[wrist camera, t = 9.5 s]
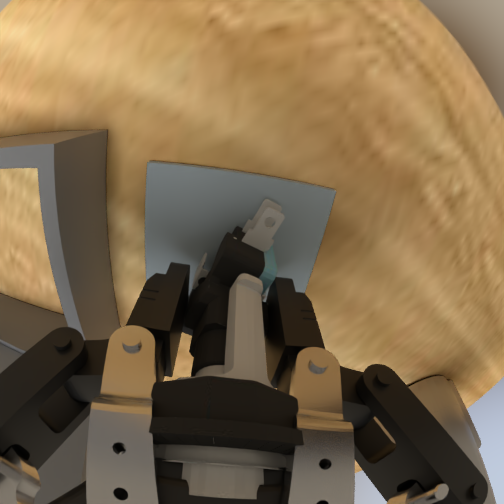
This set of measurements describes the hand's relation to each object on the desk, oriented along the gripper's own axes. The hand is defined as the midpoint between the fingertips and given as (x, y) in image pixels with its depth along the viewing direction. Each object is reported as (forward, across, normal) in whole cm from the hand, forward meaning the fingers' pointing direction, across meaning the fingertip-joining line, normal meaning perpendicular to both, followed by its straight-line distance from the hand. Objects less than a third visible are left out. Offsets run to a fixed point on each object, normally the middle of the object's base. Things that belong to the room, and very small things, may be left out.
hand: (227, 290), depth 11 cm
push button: (+2, 0, 0) cm, 2 cm away
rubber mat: (+3, 0, 0) cm, 3 cm away
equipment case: (+3, +15, +2) cm, 15 cm away
